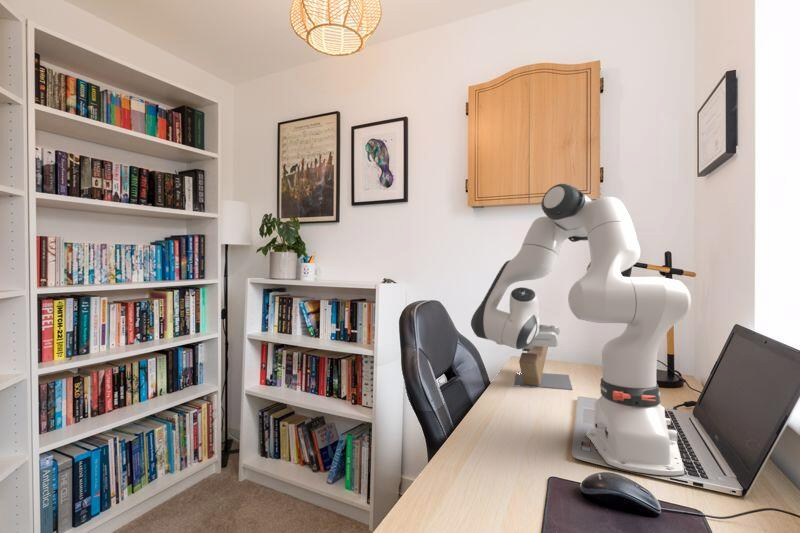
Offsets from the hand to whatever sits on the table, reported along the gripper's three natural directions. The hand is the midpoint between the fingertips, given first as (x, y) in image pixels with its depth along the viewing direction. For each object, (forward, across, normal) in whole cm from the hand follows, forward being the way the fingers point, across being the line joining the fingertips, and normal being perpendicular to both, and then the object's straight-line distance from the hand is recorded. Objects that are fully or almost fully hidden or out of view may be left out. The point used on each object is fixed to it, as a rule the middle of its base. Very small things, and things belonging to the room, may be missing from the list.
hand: (526, 349), depth 136 cm
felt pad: (+15, -5, +3) cm, 16 cm away
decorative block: (+4, -1, +8) cm, 9 cm away
